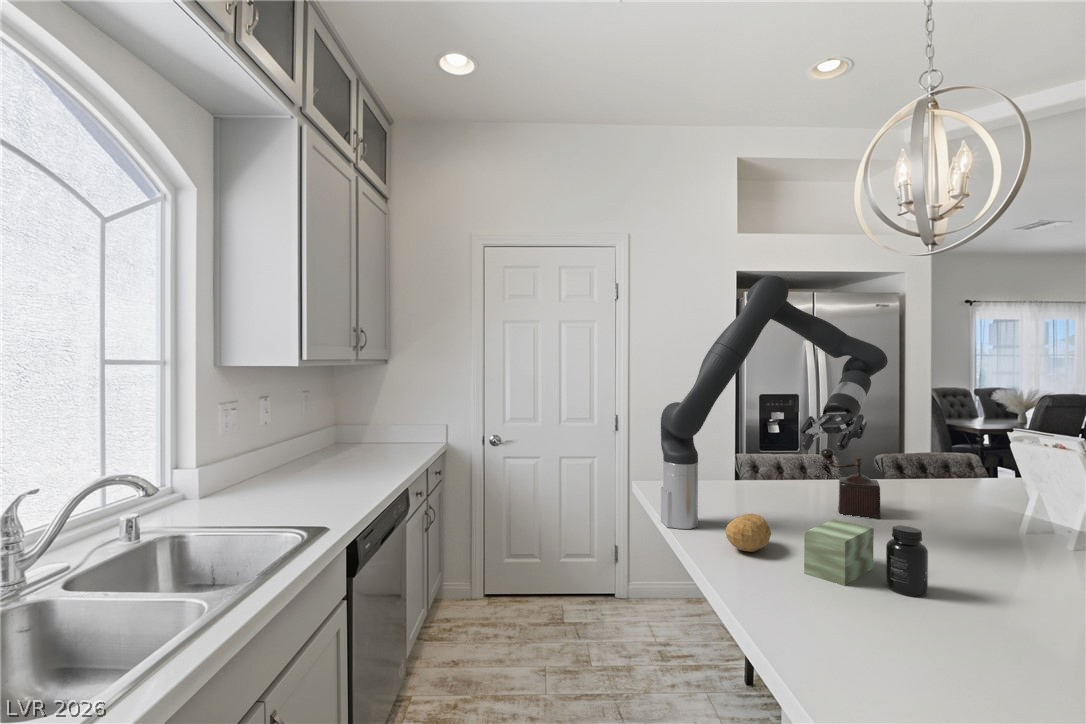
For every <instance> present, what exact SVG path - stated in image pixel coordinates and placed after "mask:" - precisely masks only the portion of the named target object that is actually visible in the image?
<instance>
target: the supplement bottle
mask: <svg viewBox="0 0 1086 724" xmlns="http://www.w3.org/2000/svg"><path fill="white" fill-rule="evenodd" d="M891 530H892V533H891V537H892V539H889V540H888V541H887V542H886V554H885V555H886V558H885V562H886V563H885V564H886V565H885V571H886V572H885V575H886V576H885V577H886V578H885V583H886V586H887V588H888V589H889V590H891V591H892V592H895V593H898V594H900V595H904V596H909V597H924V596H926V595H927V594H928V592H929V591H928V589H929V551H928V548H927V547H926V546H925V544H923V543H921V542H922V541H923V537H922V536H923V535H922V532H923V531H922V530H921V529H918V528H915V527H911V526H907V525H905V526H904V525H893V526H892V529H891Z"/></svg>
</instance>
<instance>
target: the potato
mask: <svg viewBox="0 0 1086 724" xmlns="http://www.w3.org/2000/svg"><path fill="white" fill-rule="evenodd" d="M725 535H726V539H727V540H728V542H730V544H731V545H732V546H733V547H734V548H736V549H738V550H739V551H745V552H749V553H751V552H752V553H754V552H757V551H758V550H761V549H762V548H764V547H767V545H768V544H769V541H770V540H771V539H770V538H771V536H772V530H771V528H770V526H769V524H768V522H767V520H766V519H765V518H764V517H763V516H761V515H759V514H757V513H756V514H755V513H745V514H743V515H740V516H738V517H736V518H733V519H732V520H731V521H730V522H729V523H728V524H727V525H726V527H725Z"/></svg>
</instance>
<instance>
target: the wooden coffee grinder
mask: <svg viewBox="0 0 1086 724" xmlns="http://www.w3.org/2000/svg"><path fill="white" fill-rule="evenodd" d="M819 454H820V456H821V457H822V459H824V464H826V465H828V466H829V467H831V468H852V467H856V466H857V467H856V469H857V472H855V473H853V474H851V475H848V476H839V478H838V506H837V509H838V513H839V515H840V514H843V515H842V516H846V515H852V516H851V517H854V516H860V517H859V518H862V517H869V518H868V519H872V518H878V519H877V520H881V486H880V483H879V481H878V480H877V479H871V478H869V477H868V476H866V475H865V474H862V472H861V471H862V470H861V469H862V467H861V465H862V457H859V456H858V457H856V462H854V463H844V464H835V460H834V459H833V457H834V454H835V451H834V450H833V449H832V448H828V447H827V448H823V449H821V450H820V453H819Z"/></svg>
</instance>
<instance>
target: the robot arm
mask: <svg viewBox="0 0 1086 724" xmlns="http://www.w3.org/2000/svg"><path fill="white" fill-rule="evenodd" d="M788 297H789V285H788V283H787V282H786V281H785V279H783V278H782V277H780V276H778V275H767V276H765V277H762V278H760V279H759V280H757V281H756V282H755V283H754V284H753V285H752V286H751V287H750V288H749V290H748V291H747V293H746V301H747V302H746V303H745V305H744V307H743V309H742V310H741V311H740V313H739V314H738V315H737V316H736V318H735V319H734V320H733V321H732V322H731V323H730V324H729V325H728V326H727V327H726V328H725V329H724V330H723V331H722V332H721V334H720V335H719V336H718V337H717V338H716V340H715V341H714V343H713V344H712V346H711V347H710V348H709V349H708V351H707V353H706V354H705V356H704V358H703V360H702V362H701V365H700V368H699V371H698V375H697V378H696V381H695V383H694V384H693V387H692V388H691V390H690V391H688V393H687V394H686V396H685V397H684V399H682V401H681V402H678V401H677V402H676V401H674V402H671V403H669V404H667V405H666V406H665V408H663V411H662V413H661V417H660V446H661V451H662V455H663V456H662V457H663V462H662V463H663V470H662V471H663V473H662V475H663V476H662V479H663V481H662V482H663V483H662V486H661V488H660V522H661V523H662V524H663V525H664V526H665V527H666V528H674V529H679V530H689V529H695V528H697V527H698V525H699V515H698V514H699V513H698V512H699V508H698V507H699V505H698V504H699V453H698V451H697V449H696V446H695V443H694V436H695V435H697V434H698V433H699V432H700V431H701V429H702V427H703V426H704V424H705V422H706V421H707V418H708V416H709V414H710V412H711V411H712V409H713V407H714V405H715V403H716V401H717V400H718V399H719V397H720V396H721V394H723V392H724V390H725V389H726V387H727V386H728V385H729V383H730V382H731V381H732V379H733V377H734V376H735V375H736V374H737V372H738V371H739V369H740V368H741V366H742V365H743V363H744V362H745V360H746V359H747V357H748V355H749V354H750V352H751V350H752V349H753V347H754V346H755V344H756V342H757V340H758V339H759V337H760V336H761V333H762V332H763V330H764V328H765V327H766V325H767V324H768V323H769V322H770V320H771V321H775V323H776V322H777V323H778V324H780V325H782V326H783V327H785V328H788V329H789V330H791V331H793V332H794V333H796V334H797V335H799V336H801V337H802V338H804V339H806V341H808V342H810V343H811V344H812V345H814V346H815V347H817V348H819V350H822V352H824V353H826V354H827V355H829V356H830V357H832V358H834V359H838V358H842V357H845V356H846V357H847V356H849V358H848V359H847V360H846V362H844V364H843V366H842V372H841V378H840V379H839V381H838V383H837V386H836V387H835V388H834V389H833V391H832V392H831V394H830V396H829V397H828V400H827V401H826V403H825V405H824V407H823V410H822V415H821V416H819V418H814V417H813V416H812V415H810V416H808V417H807V418H806V420H805V422H804V423H803V424H802V427H800V429H799V432H800V434H801V436H802V437H803V439H802V441H801V446H802V447H803V449H804V450H805V451H809V450H810V449H811V447H812V445H813V443H814V442H815V440H816V439H817V438H822V437H824V436H826V435H827V434H829V435H830V434H837V435H839V434H840V433H841V435H840V436H839V438H838V441H837V443H836V446H837V448H838V450H839V451H841V452H843V451H845V449H847V448H848V446H849V444H850V442H851V441H852V440H854V439H855V438H856V439H858V440H859V439H861V438H862V437H863V435H864V432H865V431H866V430H865V429H866V428H867V425H868V422H867V420H866V418H865V416H864V414H860V413H861V410H862V408H863V406H864V404H865V400H866V397H867V396H868V394H869V391H870V389H871V385H872V379H871V377H872V376H874V375H876V374H877V373H879V372H880V371H882V370H883V369H884V368H886V367H887V365H888V362H889V359H888V357H887V355H886V353H885V352H884V350H883V349H881V348H880V347H878V346H877V345H874V344H873V343H870V342H868V341H867V342H866V340H865V341H864V340H863V339H859V338H857V337H853V336H852V335H851V336H850V335H848V334H847V333H846V332H844V331H843V330H842V329H840V328H838V327H837V326H836V325H834V324H832V323H831V322H829V321H827V320H825V319H823V318H821V317H818V316H816V315H813V314H811V313H808V312H806V311H803V310H802V309H800V308H798V307H797V306H795V305H793V304H792V303H790V302H789V301H788ZM852 426H853V427H852ZM820 427H821V429H820ZM851 427H852V429H851V430H849V428H851ZM814 432H815V433H814Z"/></svg>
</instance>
